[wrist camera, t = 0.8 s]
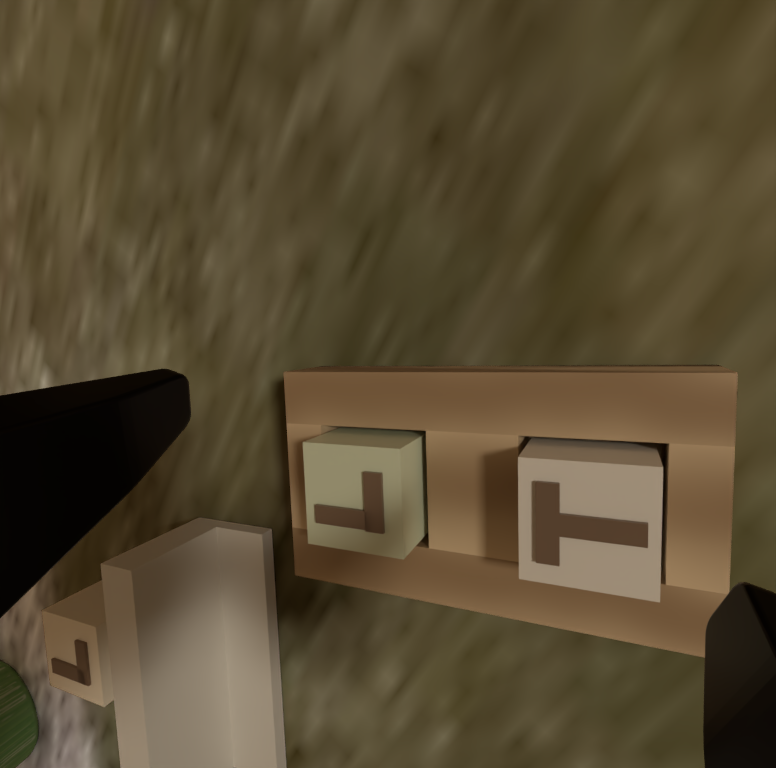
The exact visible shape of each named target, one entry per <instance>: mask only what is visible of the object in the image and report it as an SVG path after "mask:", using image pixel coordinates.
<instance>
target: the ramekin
mask: <svg viewBox="0 0 776 768" xmlns="http://www.w3.org/2000/svg"><path fill="white" fill-rule="evenodd" d="M38 731H39V726H38V717H37V712H36V709H35V705H34V702H33V699H32V697H31V694H30V692H29V690H28V688H27V687H26V685H25V683H24V682H23V680H22V679H21V677H20V676H19V675H18V674H17V672H16V671H15V670H14V669H13V668H12V667H10V666H9V665H8V664H6V663H4V662H2V661H0V768H15V767H17V766H18V765H19V764H20V763H21V762H22V761H24V760H25V759H26V758H27V757H28V756H29V755H30V754H31V752H32V751H33V749H34V747H35V745H36V742H37V739H38Z"/></svg>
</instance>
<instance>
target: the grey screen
mask: <svg viewBox="0 0 776 768" xmlns="http://www.w3.org/2000/svg"><path fill="white" fill-rule="evenodd" d="M101 574H102V584H103V594H104V604H105V614H106V624H107V634H108V644H109V655H110V665H111V675H112V685H113V695H114V705H115V715H116V725H117V735H118V745H119V755H120V765H121V768H234V767H235V768H286V753H285V737H284V720H283V704H282V688H281V671H280V655H279V639H278V623H277V606H276V590H275V574H274V558H273V541H272V529H270V528H264V527H258V526H251V525H245V524H239V523H232V522H226V521H220V520H214V519H207V518H201V517H199V518H197V519H194V520H192V521H190V522H188V523H186V524H184V525H182V526H179V527H177V528H175V529H173V530H171V531H169V532H167V533H165V534H162V535H160V536H158V537H156V538H154V539H152V540H150V541H147V542H145V543H143V544H141V545H139V546H137V547H135V548H133V549H130V550H128V551H126V552H124V553H122V554H120V555H118V556H115V557H113V558H111V559H109V560H107V561H105V562H103V563H101Z"/></svg>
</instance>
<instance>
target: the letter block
mask: <svg viewBox="0 0 776 768" xmlns="http://www.w3.org/2000/svg"><path fill="white" fill-rule="evenodd" d="M42 618H43V627H44V636H45V644H46V653H47V662H48V671H49V680H50V685H51V686H53V687H56V688H58V689H61V690H63V691H66V692H68V693H71V694H73V695H75V696H78V697H80V698H83V699H85V700H88V701H90V702H93V703H95V704H98V705H100V706H103V707H105V706H106V705H107V704H109V703H110V702H111V701H113V700H114V695H113V685H112V675H111V665H110V655H109V644H108V634H107V624H106V614H105V604H104V594H103V584H102V580H101V581H99V582H97V583H95V584H93V585H91V586H89V587H87V588H85V589H83V590H81V591H79V592H77V593H75V594H73V595H71V596H69V597H67V598H65V599H63V600H61V601H59V602H57V603H55V604H53V605H51V606H49V607H47V608H45V609H43V610H42Z"/></svg>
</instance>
